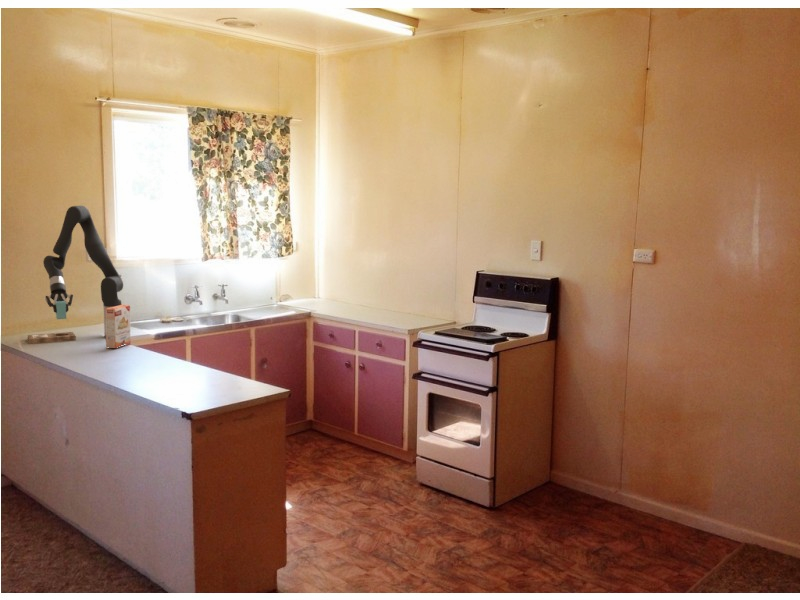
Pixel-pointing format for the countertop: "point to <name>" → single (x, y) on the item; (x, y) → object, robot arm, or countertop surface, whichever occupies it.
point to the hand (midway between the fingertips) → (61, 311)
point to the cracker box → (117, 326)
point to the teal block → (61, 309)
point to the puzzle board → (51, 337)
